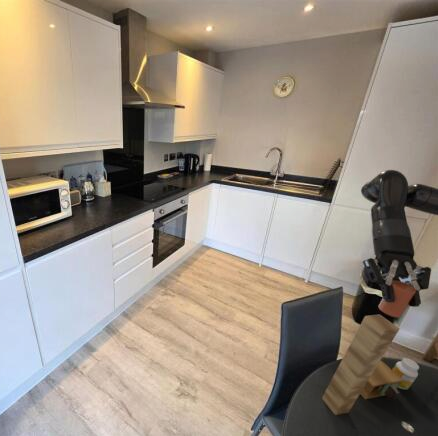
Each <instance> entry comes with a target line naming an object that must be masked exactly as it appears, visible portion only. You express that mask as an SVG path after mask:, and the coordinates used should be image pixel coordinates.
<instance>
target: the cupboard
mask: <svg viewBox="0 0 438 436" xmlns="http://www.w3.org/2000/svg"><path fill="white" fill-rule="evenodd" d="M392 369H393V368H390V367H389V366H388V365H387V364H386V363H385V362H383V360H382V359H381V360H380V362H379V363H378V365H377V367H376V368H375V370H374V372H373V373H372V375H371V376H370V378H369V380H368V381H367V383H366V385H365V386H364V388H363V389H362V391H361V393H360V394H359V395H361V397H362V398H363V399H364V400H368V399H373V398H379V397H383V396H386V395H385V394H383V395H381V394H380V392H381V390H382V389H383V387H384V386H385V384H391V383H396V382H398V383H399V384H398V386H397V387H396V389H397V390H398V388H399V385H400V384H401V383H402V381H403V379H402V378H401V377H400V376H398V375H397V374H396V373H395V372H394V371H393V370H392Z"/></svg>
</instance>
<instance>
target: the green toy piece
mask: <svg viewBox="0 0 438 436" xmlns="http://www.w3.org/2000/svg"><path fill="white" fill-rule="evenodd" d="M398 384H399V383H398V382H396V383H391V384H385V386H384V387H383V389H382V390H381V392H380V394H381V395H383V394H385V395H384V396H386V397H387V398H388V399H389V400H390V401H395V399H397V397H398V395H399V394H400V390H398V388H397V389H396V387H397V386H398Z"/></svg>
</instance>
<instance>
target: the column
mask: <svg viewBox="0 0 438 436" xmlns="http://www.w3.org/2000/svg"><path fill="white" fill-rule="evenodd" d="M400 329H401V328H399V327H398V326H396V324H394V323H392V321H390V320H388V319H387V318H385V316H382V314H378V313H377V314H372V315H365V316H364V317H363V319H362V321H361V323H360V325H359V326H358V328H357V330H356V332H355V335H354V337H353V338H352V340H351V341H350V344H349V346H348V348H347V349H346V351H345V353H344V355H343V357H342V358H341V361H340V363H339V365H338V366H337V368H336V371H335V372H334V374H333V376H332V378H331V379H330V381H329V384H328V386H327V388H326V390H325V391H324V393H323V395H322V397H321V399H322V401H323V402H324V403H325V404H326V405H327V407H328V408H329V409H330V410H331V412H332V413H333V414H334V416H337V415H338V416H339V415H343V414H348V413H350V411H351V409H352V408H353V406H354V404H355V402H356V401H357V399H358V398H359V396H360V395H361V394H360V393H361V391H362V389H363V388H364V386H365V385H366V383H367V381H368V380H369V378H370V376H371V375H372V373H373V372H374V370H375V368H376V367H377V365H378V363H379V362H380V360H381V361H382V359H383V357H384V356H385V354H386V353H387V350H388V349H389V347H390V346H391V344H392V342H393V341H394V340H395V338H396V336H397V334H398V332H400Z"/></svg>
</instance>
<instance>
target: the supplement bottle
mask: <svg viewBox="0 0 438 436" xmlns="http://www.w3.org/2000/svg"><path fill="white" fill-rule="evenodd" d="M391 369H392V370H393V371H394V372H395V373H396V374H397V375H398V376H400V377H401V378H402V379H403V381H402V383H401V384H400V385H399V387H398V388H399V389H401V390H409V389H410V388H411V386H412V385H413V383H414V382H415V381H416V379H417V377H418V376H419V369H420V366H419V365H418V363H416V362H415V361H414V360H412V359H410V358H407V357H404V358H402V359H401V361H397V362H396V363H395V365H394V366H393V368H391Z"/></svg>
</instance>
